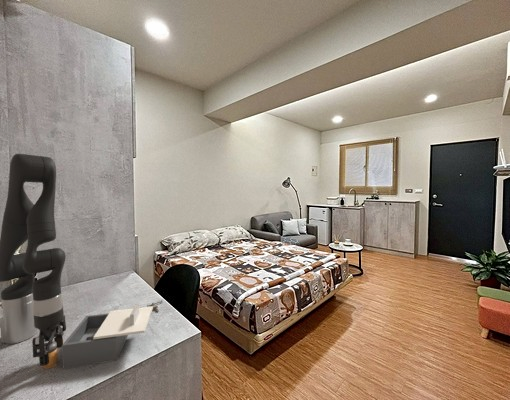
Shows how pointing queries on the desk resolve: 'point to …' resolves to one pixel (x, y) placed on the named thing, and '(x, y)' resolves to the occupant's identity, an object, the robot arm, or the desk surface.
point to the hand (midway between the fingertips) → (52, 355)
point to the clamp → (154, 306)
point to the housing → (90, 344)
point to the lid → (124, 322)
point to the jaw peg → (52, 355)
